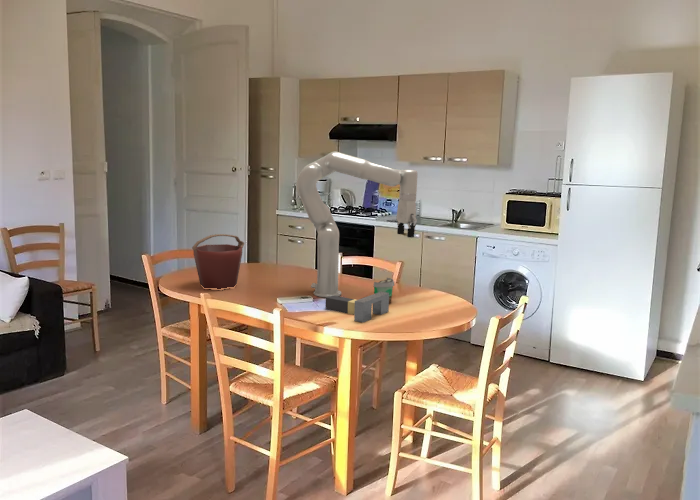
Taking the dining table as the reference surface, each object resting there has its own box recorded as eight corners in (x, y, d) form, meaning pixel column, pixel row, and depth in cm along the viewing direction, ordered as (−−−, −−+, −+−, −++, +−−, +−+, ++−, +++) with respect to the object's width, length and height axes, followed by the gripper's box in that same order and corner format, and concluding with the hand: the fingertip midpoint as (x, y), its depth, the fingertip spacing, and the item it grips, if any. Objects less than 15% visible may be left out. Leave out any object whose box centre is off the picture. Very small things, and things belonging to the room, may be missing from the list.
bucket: (243, 280, 307) (242, 231, 302) (248, 291, 286) (248, 237, 281) (192, 282, 300) (191, 231, 296) (193, 293, 279) (192, 238, 275)
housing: (354, 320, 241) (354, 300, 239) (380, 310, 257) (380, 291, 256) (363, 322, 239) (363, 302, 237) (388, 311, 255) (389, 292, 254)
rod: (325, 309, 257) (325, 297, 256) (332, 306, 261) (332, 295, 260) (353, 314, 250) (354, 302, 249) (360, 312, 254) (360, 300, 253)
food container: (385, 307, 263) (386, 284, 261) (372, 304, 266) (373, 282, 264) (398, 301, 273) (399, 279, 271) (386, 299, 276) (387, 277, 275)
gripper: (391, 195, 282) (389, 233, 284) (409, 199, 266) (407, 238, 269) (406, 195, 284) (404, 232, 287) (424, 199, 269) (422, 238, 272)
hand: (405, 235), depth 278 cm, fingers open, 9 cm apart
